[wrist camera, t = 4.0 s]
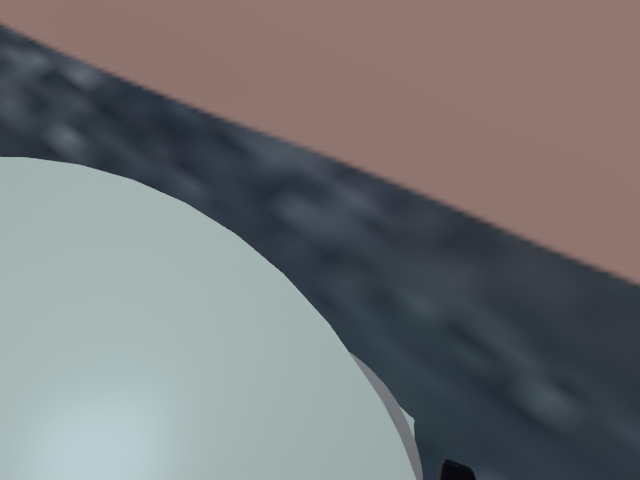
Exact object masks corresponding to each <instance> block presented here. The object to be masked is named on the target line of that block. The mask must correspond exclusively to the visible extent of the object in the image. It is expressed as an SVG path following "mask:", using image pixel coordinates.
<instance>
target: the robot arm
mask: <svg viewBox="0 0 640 480" xmlns="http://www.w3.org/2000/svg"><path fill="white" fill-rule="evenodd" d="M435 480H476V478H475V475H474V473H473V471H472V469H471V468H469V467H467V466H465V465H462V464H459V463H457V462H454V461H451V460H448V459H446V460H444V461H442V463H441V465H440V467H439V470H438V473H437V475H436V478H435Z"/></svg>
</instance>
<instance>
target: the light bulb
mask: <svg viewBox="0 0 640 480" xmlns="http://www.w3.org/2000/svg"><path fill="white" fill-rule="evenodd" d="M414 422H415V421H414V420H413V418H411V417H410V416H409V415H408V414H407V413H406V412H405V411H404V410H403V409H402V408H401V407H400V406H399V405H398V403H397V401H396V400H395V399H394V397H393V396H392V394H391V393H390V391H389V390H388V389H387V387H386V386H385V385H384V383H383V382H382V381H381V380H380V379H379V378H378V377H377V376H376V375H375V374H374V372H373V371H372V370H371V369H370V368H369V367H367V366H366V365H365V364H364V363H363V362H361V361H360V360H359V359H358V358H357V357H356V356H354V355H353V354H351V353H350V352H348V351H347V349H346V348H345V346H344V345H343V343H342V342H341V341H340V339H339V338H338V336H337V335H336V333H335V332H334V330H333V329H332V328H331V326H330V325H329V323H328V322H327V321H326V320H325V319H324V318H323V317H322V316H321V315H320V314H319V312H318V311H317V310H316V309H315V308H314V307H313V306H312V305H311V304H310V303H309V301H308V300H307V299H306V298H305V297H304V296H303V295H302V294H301V293H300V292H299V290H298V289H297V288H296V287H295V286H294V285H293V284H292V283H291V282H290V281H289V279H288V278H287V277H286V276H285V275H284V274H283V273H282V272H280V271H279V270H278V269H277V268H276V267H274V266H273V265H272V264H271V263H270V262H268V261H267V260H266V259H265V258H264V257H262V256H261V255H260V254H259V253H258V252H256V251H255V250H254V249H253V248H252V247H250V246H249V245H248V244H247V243H246V242H244V241H243V240H242V239H241V238H240V237H239V236H237V235H236V234H235V233H233V232H231V231H230V230H228V229H226V228H225V227H223V226H222V225H220V224H218V223H217V222H215V221H214V220H212V219H210V218H209V217H207V216H206V215H204V214H202V213H201V212H199V211H198V210H196V209H194V208H193V207H191V206H190V205H188V204H186V203H184V202H182V201H180V200H178V199H175V198H173V197H171V196H168V195H166V194H164V193H162V192H159V191H157V190H155V189H153V188H150V187H148V186H146V185H144V184H141V183H139V182H137V181H134V180H132V179H128V178H125V177H121V176H117V175H114V174H110V173H107V172H103V171H100V170H96V169H93V168H89V167H85V166H82V165H77V164H70V163H63V162H55V161H48V160H41V159H34V158H26V157H0V480H423V475H422V467H421V462H420V458H419V454H418V450H417V446H416V443H415V440H414Z"/></svg>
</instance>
